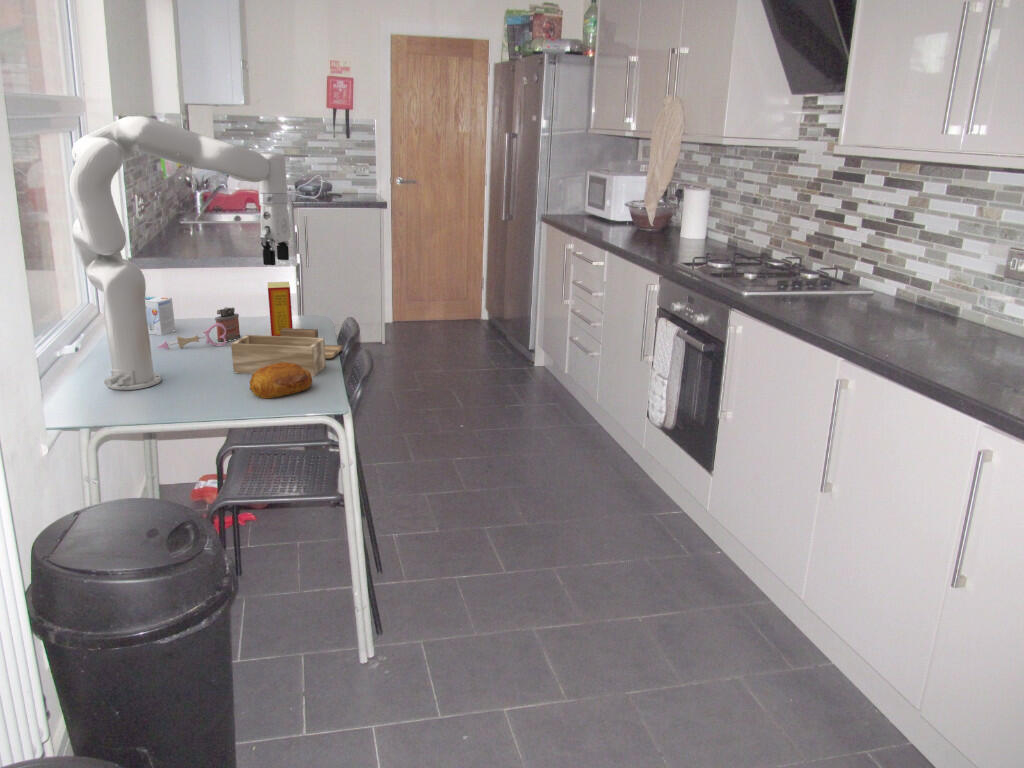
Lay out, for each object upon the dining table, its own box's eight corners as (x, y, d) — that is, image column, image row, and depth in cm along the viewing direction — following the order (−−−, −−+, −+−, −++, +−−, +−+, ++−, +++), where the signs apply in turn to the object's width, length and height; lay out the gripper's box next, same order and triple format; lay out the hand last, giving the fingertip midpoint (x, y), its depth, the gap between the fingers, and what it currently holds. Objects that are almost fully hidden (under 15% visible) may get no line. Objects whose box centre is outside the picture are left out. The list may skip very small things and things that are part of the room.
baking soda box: (271, 330, 262) (267, 281, 257) (292, 329, 264) (288, 280, 259) (271, 337, 254) (267, 286, 249) (293, 336, 255) (289, 286, 251)
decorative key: (160, 358, 240) (229, 343, 246) (160, 359, 239) (229, 344, 245) (153, 336, 238) (223, 321, 243) (153, 337, 237) (224, 322, 242)
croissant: (320, 399, 206) (323, 368, 204) (262, 403, 195) (265, 371, 193) (292, 384, 216) (295, 354, 214) (236, 387, 205) (238, 357, 203)
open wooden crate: (314, 376, 216) (312, 347, 213) (233, 373, 218) (231, 344, 215) (325, 366, 225) (324, 338, 223) (249, 362, 227) (246, 334, 225)
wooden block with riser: (332, 361, 231) (330, 335, 229) (257, 358, 233) (255, 332, 231) (342, 352, 240) (341, 327, 238) (270, 349, 243) (268, 324, 240)
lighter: (235, 336, 255) (232, 304, 252) (243, 337, 253) (240, 306, 250) (214, 341, 248) (211, 309, 245) (222, 343, 246) (219, 311, 243)
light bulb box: (133, 332, 257) (129, 299, 254) (148, 328, 263) (144, 295, 260) (162, 335, 254) (158, 301, 251) (176, 330, 260) (172, 297, 257)
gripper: (273, 202, 214) (277, 267, 219) (297, 197, 230) (300, 258, 235) (246, 201, 215) (250, 266, 220) (272, 196, 231) (275, 257, 236)
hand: (276, 262), depth 227 cm, fingers open, 9 cm apart
